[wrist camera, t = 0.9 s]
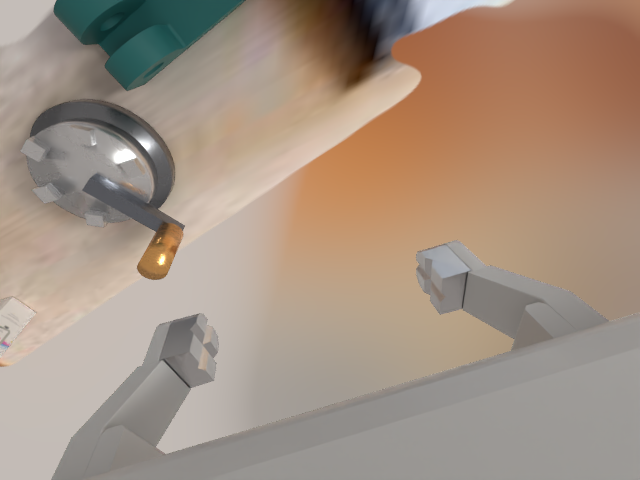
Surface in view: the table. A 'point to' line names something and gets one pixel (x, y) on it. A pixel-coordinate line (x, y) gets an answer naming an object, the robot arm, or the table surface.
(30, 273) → the table surface
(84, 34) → the bracket
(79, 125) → the lugged valve handwheel
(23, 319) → the ink cartridge box
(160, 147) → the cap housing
